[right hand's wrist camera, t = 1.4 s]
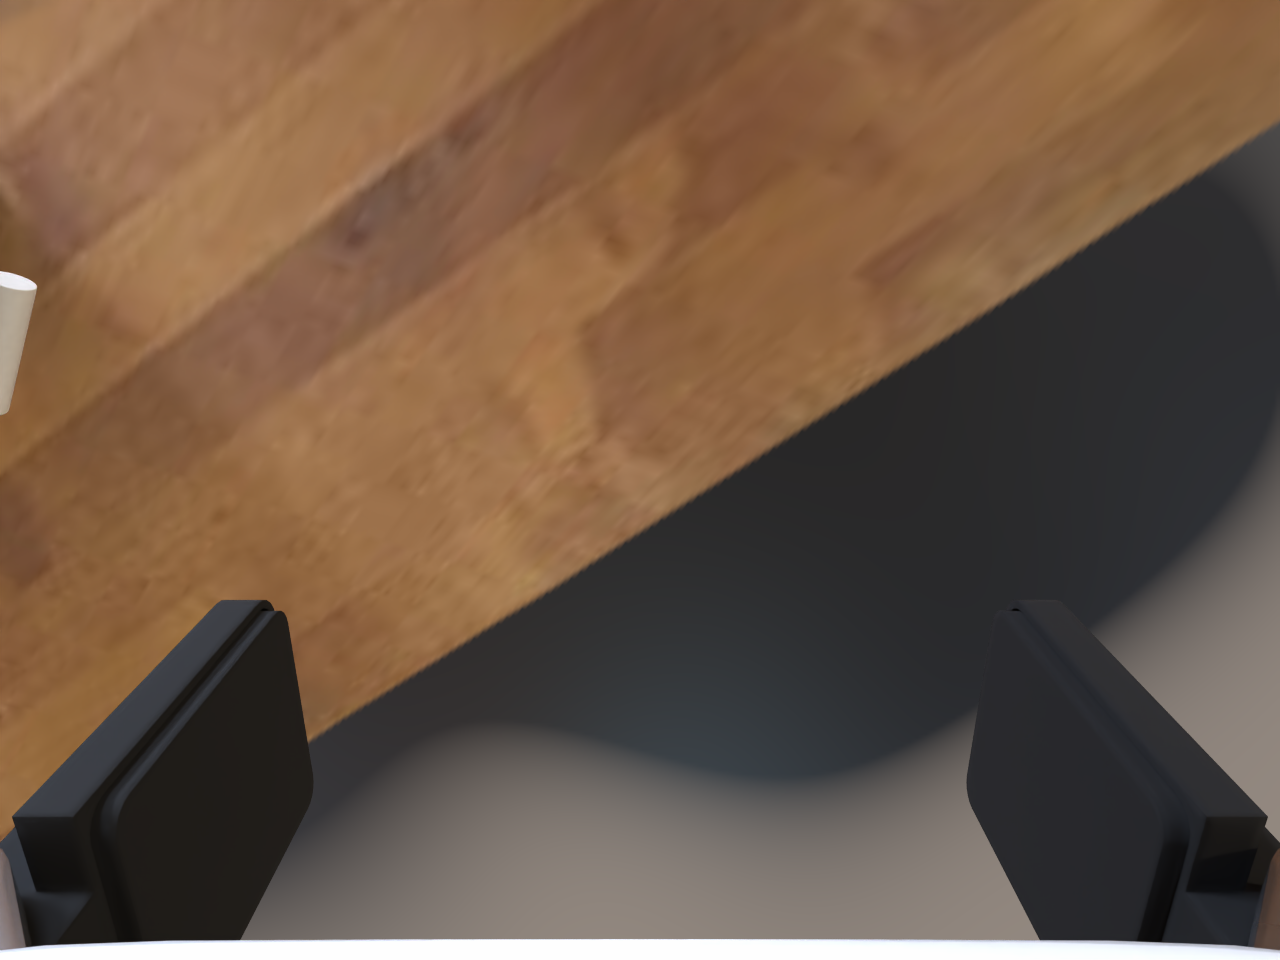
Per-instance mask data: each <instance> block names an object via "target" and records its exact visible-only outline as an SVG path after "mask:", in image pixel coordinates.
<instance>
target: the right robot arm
mask: <svg viewBox="0 0 1280 960" xmlns="http://www.w3.org/2000/svg"><path fill="white" fill-rule="evenodd" d="M967 792H968V798H969V802H970V804H971V807H972V809H973V811H974V813H975V815H976V817H977V819H978V821H979V823H980V825H981V827H982V829H983V830H984V832H985V834H986V836H987V838H988V840H989V842H990V844H991V846H992V848H993V850H994V852H995V854H996V856H997V858H998V860H999V861H1000V864H1001V865H1002V867H1003V869H1004V871H1005V873H1006V875H1007V877H1008V879H1009V881H1010V883H1011V885H1012V887H1013V889H1014V891H1015V893H1016V894H1017V896H1018V898H1019V900H1020V902H1021V904H1022V906H1023V908H1024V910H1025V912H1026V914H1027V916H1028V918H1029V920H1030V922H1031V924H1032V926H1033V928H1034V930H1035V931H1036V933H1037V935H1038V937H1039V939H1040V940H885V939H884V940H882V939H520V940H519V939H400V940H399V939H396V940H240V939H241V937H242V935H243V933H244V931H245V930H246V928H247V926H248V924H249V922H250V920H251V918H252V916H253V914H254V912H255V910H256V908H257V906H258V904H259V902H260V900H261V898H262V896H263V895H264V892H265V891H266V889H267V887H268V885H269V883H270V881H271V879H272V877H273V875H274V873H275V871H276V869H277V867H278V865H279V863H280V862H281V860H282V858H283V856H284V854H285V852H286V850H287V848H288V846H289V844H290V842H291V840H292V838H293V836H294V834H295V832H296V830H297V829H298V827H299V825H300V823H301V821H302V819H303V817H304V815H305V813H306V811H307V809H308V807H309V804H310V801H311V798H312V793H313V773H312V767H311V761H310V754H309V748H308V742H307V736H306V730H305V724H304V718H303V712H302V705H301V699H300V693H299V687H298V681H297V675H296V669H295V663H294V657H293V651H292V644H291V638H290V632H289V626H288V621H287V617H286V615H285V614H284V613H283V612H282V611H274V608H273V606H272V605H271V603H270V602H269V601H267V600H221V601H220V602H219V603H217V604H216V605H215V606H214V607H213V608H212V609H211V610H210V611H209V612H208V613H207V614H206V615H205V616H204V618H203V619H202V620H201V621H200V622H199V623H198V624H197V625H196V626H195V627H194V628H193V629H192V630H191V631H190V632H189V633H188V634H187V635H186V636H185V637H184V638H183V639H182V640H181V641H180V643H179V644H178V645H177V646H176V647H175V648H174V649H173V650H172V651H171V652H170V653H169V654H168V655H167V656H166V657H165V658H164V659H163V660H162V661H161V662H160V663H159V664H158V665H157V666H156V667H155V669H154V670H153V671H152V672H151V673H150V674H149V675H148V676H147V677H146V678H145V679H144V680H143V681H142V682H141V683H140V684H139V685H138V686H137V687H136V688H135V689H134V690H133V691H132V692H131V694H130V695H129V696H128V697H127V698H126V699H125V700H124V701H123V702H122V703H121V704H120V705H119V706H118V707H117V708H116V709H115V710H114V711H113V712H112V713H111V714H110V715H109V716H108V717H107V718H106V720H105V721H104V722H103V723H102V724H101V725H100V726H99V727H98V728H97V729H96V730H95V731H94V732H93V733H92V734H91V735H90V736H89V737H88V738H87V739H86V740H85V741H84V742H83V743H82V745H81V746H80V747H79V748H78V749H77V750H76V751H75V752H74V753H73V754H72V755H71V756H70V757H69V758H68V759H67V760H66V761H65V762H64V763H63V764H62V765H61V766H60V767H59V768H58V769H57V771H56V772H55V773H54V774H53V775H52V776H51V777H50V778H49V779H48V780H47V781H46V782H45V783H44V784H43V785H42V786H41V787H40V788H39V789H38V790H37V791H36V792H35V793H34V794H33V795H32V797H31V798H30V799H29V800H28V801H27V802H26V803H25V804H24V805H23V806H22V807H21V808H20V809H19V810H18V811H17V812H16V813H15V814H14V815H13V816H12V818H13V821H14V824H15V828H14V829H13V830H12V831H11V832H10V833H9V834H8V835H7V836H6V837H5V838H4V839H3V840H2V841H1V842H0V960H1280V842H1279V841H1278V840H1277V839H1276V838H1275V837H1274V836H1273V835H1272V834H1271V833H1270V832H1269V831H1268V830H1267V829H1266V828H1265V824H1266V821H1267V818H1268V816H1267V815H1266V814H1265V813H1264V812H1263V811H1262V810H1261V809H1260V808H1259V807H1258V806H1257V805H1256V804H1255V803H1254V802H1253V801H1252V800H1251V799H1250V798H1249V797H1248V795H1246V793H1245V792H1244V791H1243V790H1242V789H1241V788H1240V787H1239V786H1238V785H1237V784H1236V783H1235V782H1234V781H1233V780H1232V779H1231V778H1230V777H1229V776H1228V775H1227V774H1226V773H1225V772H1224V771H1223V769H1222V768H1221V767H1220V766H1219V765H1218V764H1217V763H1216V762H1215V761H1214V760H1213V759H1212V758H1211V757H1210V756H1209V755H1208V754H1207V753H1206V752H1205V751H1204V750H1203V749H1202V748H1201V747H1200V746H1199V745H1198V743H1197V742H1196V741H1195V740H1194V739H1193V738H1192V737H1191V736H1190V735H1189V734H1188V733H1187V732H1186V731H1185V730H1184V729H1183V728H1182V727H1181V726H1180V725H1179V724H1178V723H1177V722H1176V721H1175V720H1174V718H1173V717H1172V716H1171V715H1170V714H1169V713H1168V712H1167V711H1166V710H1165V709H1164V708H1163V707H1162V706H1161V705H1160V704H1159V703H1158V702H1157V701H1156V700H1155V699H1154V698H1153V697H1152V696H1151V695H1150V694H1149V692H1148V691H1147V690H1146V689H1145V688H1144V687H1143V686H1142V685H1141V684H1140V683H1139V682H1138V681H1137V680H1136V679H1135V678H1134V677H1133V676H1132V675H1131V674H1130V673H1129V672H1128V671H1127V670H1126V669H1125V668H1124V666H1123V665H1122V664H1121V663H1120V662H1119V661H1118V660H1117V659H1116V658H1115V657H1114V656H1113V655H1112V654H1111V653H1110V652H1109V651H1108V650H1107V649H1106V648H1105V647H1104V646H1103V645H1102V644H1101V643H1100V642H1099V640H1098V639H1097V638H1096V637H1095V636H1094V635H1093V634H1092V633H1091V632H1090V631H1089V630H1088V629H1087V628H1086V627H1085V626H1084V625H1083V624H1082V623H1081V622H1080V621H1079V620H1078V619H1077V618H1076V617H1075V616H1074V614H1073V613H1072V612H1071V611H1070V610H1069V609H1068V608H1067V607H1066V606H1065V605H1064V604H1063V603H1061V602H1060V601H1058V600H1013V601H1011V602H1010V603H1009V605H1008V606H1007V608H1006V611H998V612H997V613H996V614H995V615H994V617H993V621H992V626H991V632H990V638H989V644H988V651H987V657H986V663H985V669H984V675H983V681H982V687H981V694H980V699H979V705H978V712H977V718H976V724H975V730H974V736H973V742H972V748H971V754H970V760H969V767H968V773H967Z"/></svg>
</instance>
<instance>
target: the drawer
mask: <svg viewBox="0 0 1280 960" xmlns="http://www.w3.org/2000/svg"><path fill="white" fill-rule="evenodd" d="M36 291H37V285H36V284H35V283H34V282H32V281H31V280H29V279H27V278H24V277H22V276H19V275H16V274H12V273H8V272H2V271H0V415H3V414H6V413H7V412H8V411H9V408H10V404H11V400H12V395H13V391H14V387H15V382H16V378H17V374H18V369H19V365H20V361H21V356H22V352H23V348H24V343H25V339H26V335H27V330H28V326H29V322H30V317H31V313H32V309H33V304H34V300H35V296H36Z"/></svg>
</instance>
